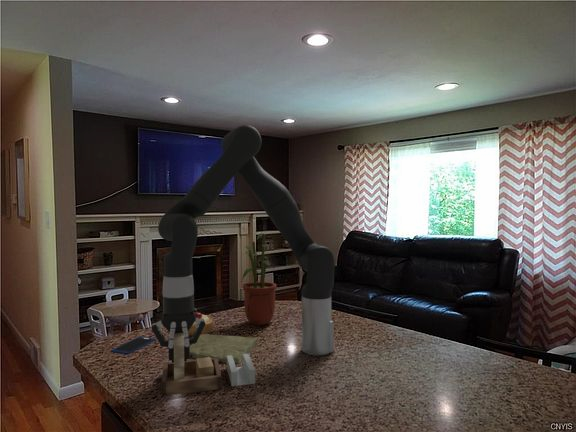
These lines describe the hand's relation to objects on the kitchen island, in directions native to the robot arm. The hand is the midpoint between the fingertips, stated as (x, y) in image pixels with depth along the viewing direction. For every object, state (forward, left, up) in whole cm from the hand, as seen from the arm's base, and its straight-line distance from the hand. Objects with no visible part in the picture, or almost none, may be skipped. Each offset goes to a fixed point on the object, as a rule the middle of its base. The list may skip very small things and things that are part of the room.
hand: (179, 360), depth 100 cm
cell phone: (+14, -34, -7) cm, 38 cm away
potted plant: (-28, -48, -7) cm, 56 cm away
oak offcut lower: (-6, 0, -6) cm, 8 cm away
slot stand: (-16, 0, -7) cm, 17 cm away
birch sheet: (0, 0, -6) cm, 6 cm away
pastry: (-6, -42, -7) cm, 43 cm away
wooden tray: (-3, 0, -7) cm, 7 cm away
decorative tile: (-12, -20, -7) cm, 24 cm away
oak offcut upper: (-6, 0, -3) cm, 7 cm away
